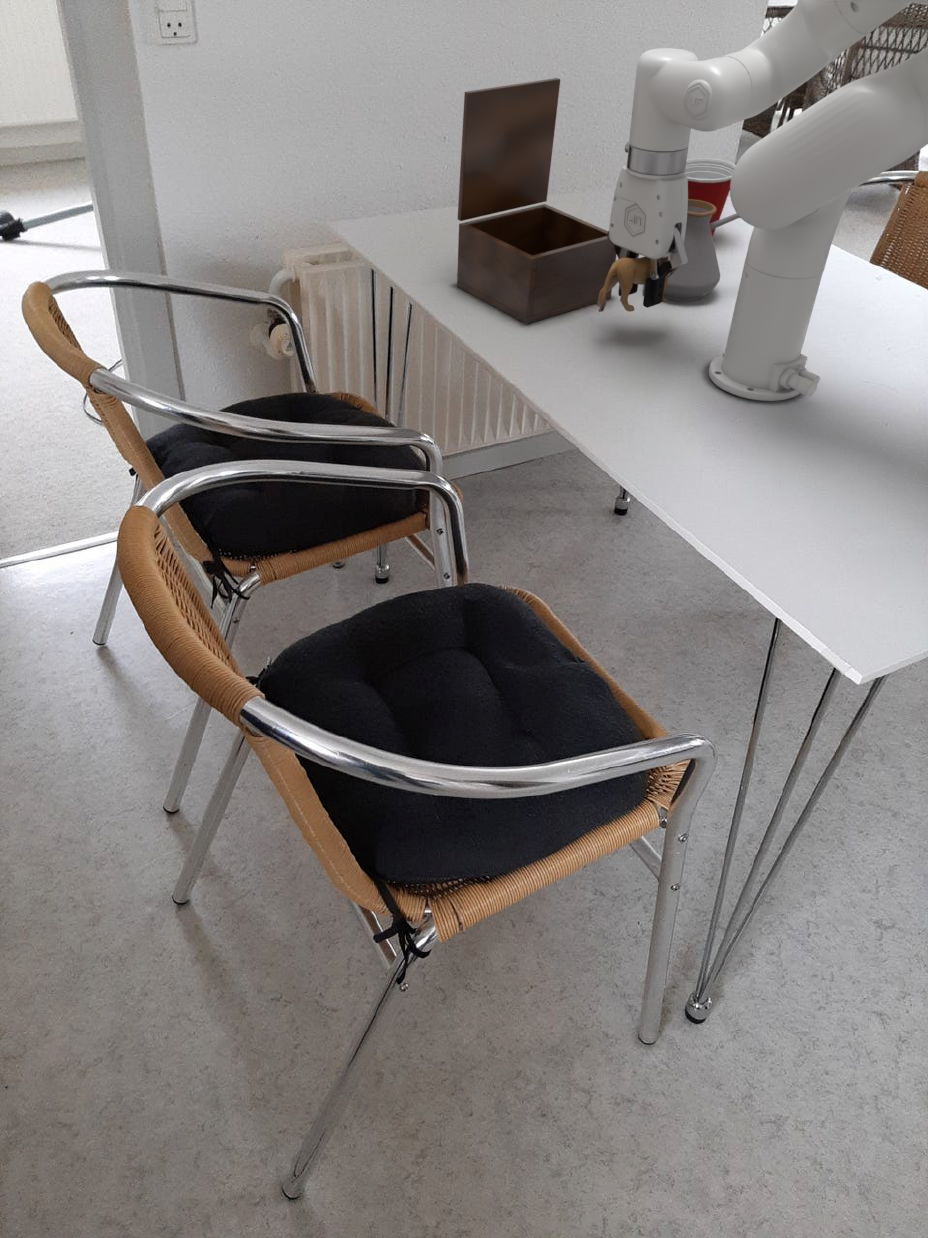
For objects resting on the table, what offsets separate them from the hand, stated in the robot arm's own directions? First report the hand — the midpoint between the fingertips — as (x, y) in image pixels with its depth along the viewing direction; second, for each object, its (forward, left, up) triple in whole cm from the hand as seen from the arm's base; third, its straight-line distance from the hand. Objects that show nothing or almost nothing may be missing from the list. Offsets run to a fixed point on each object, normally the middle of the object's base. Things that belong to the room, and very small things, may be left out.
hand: (640, 298), depth 140 cm
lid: (+27, +2, +13) cm, 30 cm away
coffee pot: (+5, -22, -6) cm, 23 cm away
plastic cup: (+22, -37, -6) cm, 43 cm away
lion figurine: (+1, 0, -1) cm, 1 cm away
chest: (+20, +2, -5) cm, 20 cm away
